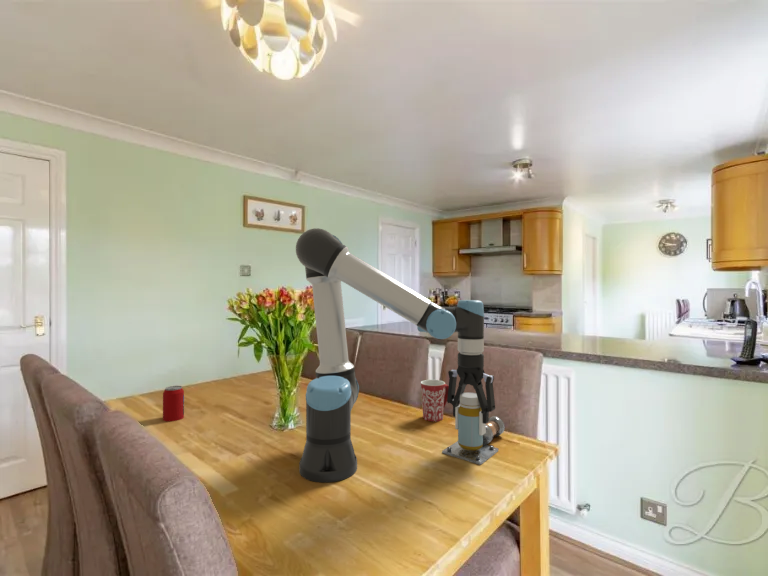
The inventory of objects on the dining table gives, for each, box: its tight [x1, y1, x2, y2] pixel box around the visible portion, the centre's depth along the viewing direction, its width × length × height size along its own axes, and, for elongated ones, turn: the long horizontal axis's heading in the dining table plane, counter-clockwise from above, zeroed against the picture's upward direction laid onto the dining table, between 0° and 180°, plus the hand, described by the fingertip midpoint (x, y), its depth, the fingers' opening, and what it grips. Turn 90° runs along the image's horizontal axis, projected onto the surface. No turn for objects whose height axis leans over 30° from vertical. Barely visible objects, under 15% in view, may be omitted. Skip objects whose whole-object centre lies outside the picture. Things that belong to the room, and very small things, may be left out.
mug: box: [420, 379, 449, 422], centre depth 147 cm, size 13×9×14 cm
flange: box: [441, 415, 506, 466], centre depth 121 cm, size 24×12×6 cm, turn 141°
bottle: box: [457, 392, 483, 450], centre depth 116 cm, size 7×7×15 cm
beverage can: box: [162, 385, 185, 423], centre depth 143 cm, size 7×7×12 cm
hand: (470, 430), depth 116 cm, fingers closed on bottle, 7 cm apart
